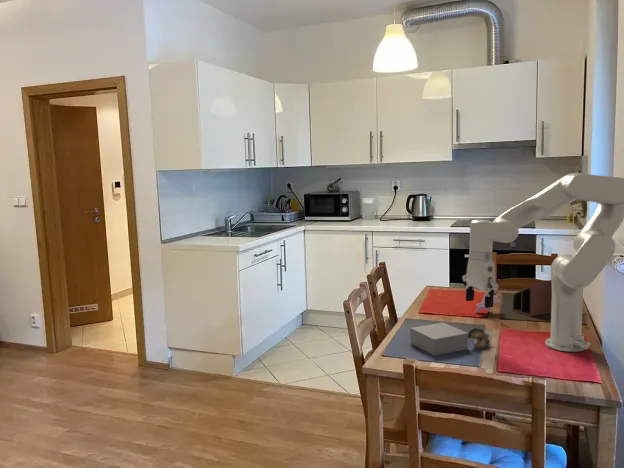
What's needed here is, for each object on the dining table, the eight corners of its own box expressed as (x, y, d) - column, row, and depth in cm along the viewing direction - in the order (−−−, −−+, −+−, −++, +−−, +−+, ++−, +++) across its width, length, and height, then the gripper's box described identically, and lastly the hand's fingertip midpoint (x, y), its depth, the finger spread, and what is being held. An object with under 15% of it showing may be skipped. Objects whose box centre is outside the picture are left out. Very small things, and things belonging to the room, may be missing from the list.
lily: (505, 314, 219) (497, 293, 223) (509, 311, 208) (500, 289, 212) (478, 323, 221) (470, 302, 224) (480, 320, 210) (471, 297, 213)
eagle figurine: (468, 336, 187) (461, 339, 179) (480, 321, 185) (474, 323, 177) (486, 351, 183) (480, 354, 175) (498, 335, 181) (492, 338, 174)
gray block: (467, 349, 177) (467, 333, 177) (434, 356, 172) (434, 339, 171) (442, 338, 190) (442, 322, 189) (410, 344, 185) (410, 328, 184)
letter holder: (564, 310, 220) (566, 278, 218) (530, 317, 212) (531, 283, 210) (545, 305, 229) (546, 274, 227) (512, 311, 221) (512, 279, 219)
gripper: (507, 258, 171) (505, 308, 174) (472, 251, 187) (471, 297, 189) (489, 260, 168) (487, 311, 171) (455, 252, 184) (454, 299, 186)
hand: (479, 303), depth 180 cm, fingers open, 9 cm apart
